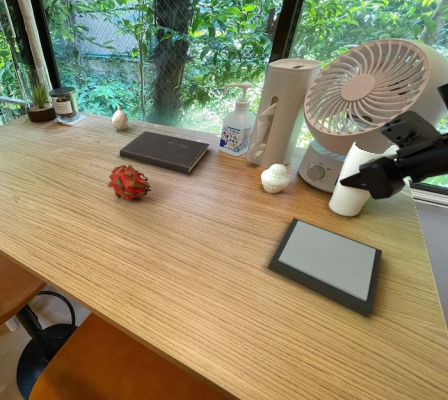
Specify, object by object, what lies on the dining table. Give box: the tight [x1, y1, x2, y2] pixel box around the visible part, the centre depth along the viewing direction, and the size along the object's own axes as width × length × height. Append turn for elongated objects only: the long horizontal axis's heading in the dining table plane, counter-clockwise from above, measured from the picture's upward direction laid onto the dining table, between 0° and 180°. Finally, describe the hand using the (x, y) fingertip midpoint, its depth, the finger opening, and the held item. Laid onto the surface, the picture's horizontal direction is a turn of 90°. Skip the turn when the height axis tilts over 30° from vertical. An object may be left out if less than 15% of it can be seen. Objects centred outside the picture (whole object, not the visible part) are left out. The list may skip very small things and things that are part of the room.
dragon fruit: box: [106, 164, 152, 202], centre depth 63 cm, size 8×8×12 cm
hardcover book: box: [119, 130, 210, 176], centre depth 79 cm, size 16×23×2 cm
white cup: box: [328, 141, 400, 217], centre depth 51 cm, size 7×7×15 cm
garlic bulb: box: [111, 105, 129, 131], centre depth 95 cm, size 7×6×8 cm
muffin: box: [260, 163, 291, 194], centre depth 60 cm, size 6×6×7 cm
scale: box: [266, 217, 383, 318], centre depth 45 cm, size 14×14×2 cm
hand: (351, 177), depth 52 cm, fingers closed on white cup, 6 cm apart
